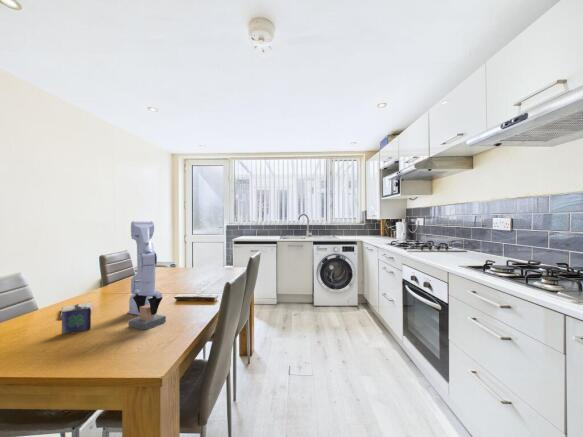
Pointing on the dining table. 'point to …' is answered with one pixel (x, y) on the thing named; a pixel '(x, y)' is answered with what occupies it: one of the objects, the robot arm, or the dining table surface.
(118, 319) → the dining table surface
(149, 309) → the terracotta block
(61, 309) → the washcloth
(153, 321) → the slate plinth
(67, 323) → the flask
